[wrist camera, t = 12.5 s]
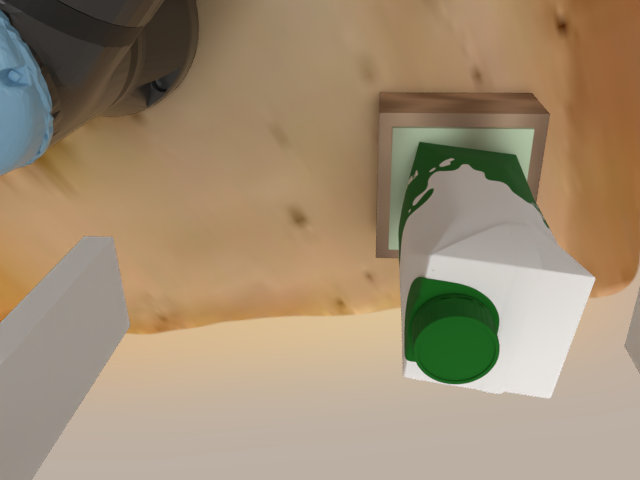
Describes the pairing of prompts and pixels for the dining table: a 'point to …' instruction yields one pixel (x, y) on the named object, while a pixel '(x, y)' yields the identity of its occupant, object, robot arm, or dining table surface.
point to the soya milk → (483, 276)
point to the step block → (450, 141)
